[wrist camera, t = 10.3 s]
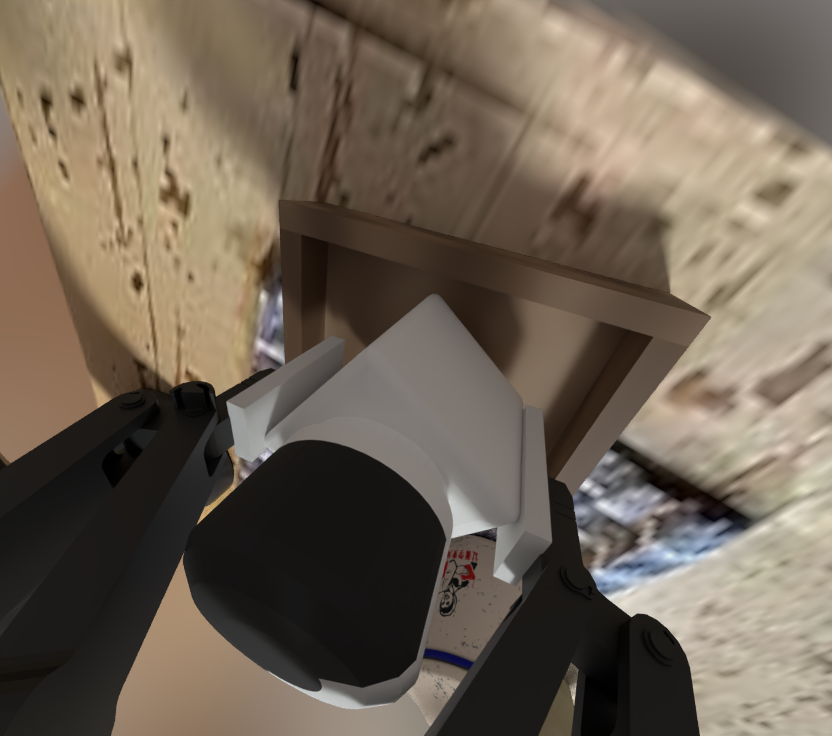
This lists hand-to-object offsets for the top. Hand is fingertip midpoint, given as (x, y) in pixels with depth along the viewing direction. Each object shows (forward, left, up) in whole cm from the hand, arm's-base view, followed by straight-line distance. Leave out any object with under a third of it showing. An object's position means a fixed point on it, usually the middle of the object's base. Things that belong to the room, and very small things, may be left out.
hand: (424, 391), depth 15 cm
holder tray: (0, 0, -4) cm, 4 cm away
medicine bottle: (0, 0, -1) cm, 1 cm away
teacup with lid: (+8, -20, -4) cm, 22 cm away
